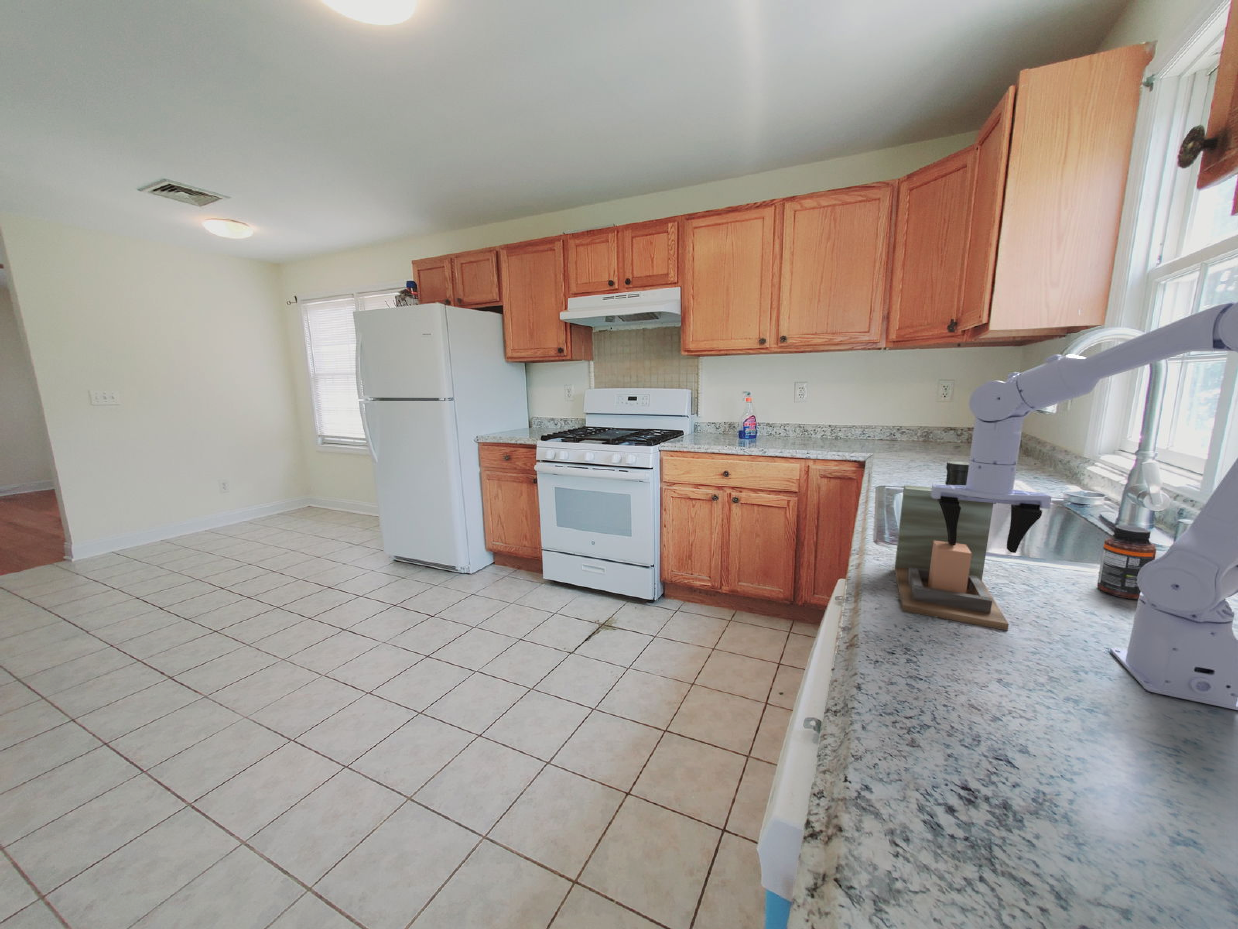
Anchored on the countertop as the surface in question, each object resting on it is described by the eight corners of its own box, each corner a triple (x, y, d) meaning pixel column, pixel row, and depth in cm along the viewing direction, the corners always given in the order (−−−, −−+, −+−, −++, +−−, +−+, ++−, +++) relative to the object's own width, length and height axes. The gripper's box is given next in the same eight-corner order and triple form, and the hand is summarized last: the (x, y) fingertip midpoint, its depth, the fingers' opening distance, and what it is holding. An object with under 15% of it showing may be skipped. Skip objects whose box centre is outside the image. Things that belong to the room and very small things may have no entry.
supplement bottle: (1122, 585, 83) (1134, 522, 81) (1158, 601, 77) (1172, 534, 75) (1086, 585, 83) (1097, 522, 81) (1119, 600, 77) (1132, 533, 75)
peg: (964, 602, 74) (971, 553, 73) (931, 596, 76) (937, 548, 75) (959, 590, 78) (965, 544, 77) (927, 585, 80) (933, 540, 79)
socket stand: (1007, 630, 68) (1025, 521, 65) (902, 610, 74) (914, 509, 71) (979, 582, 84) (992, 492, 81) (894, 569, 89) (904, 485, 86)
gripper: (1044, 461, 73) (1030, 545, 75) (932, 454, 79) (923, 533, 81) (1062, 468, 67) (1047, 561, 69) (939, 461, 73) (929, 546, 75)
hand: (980, 546), depth 75 cm, fingers open, 7 cm apart
